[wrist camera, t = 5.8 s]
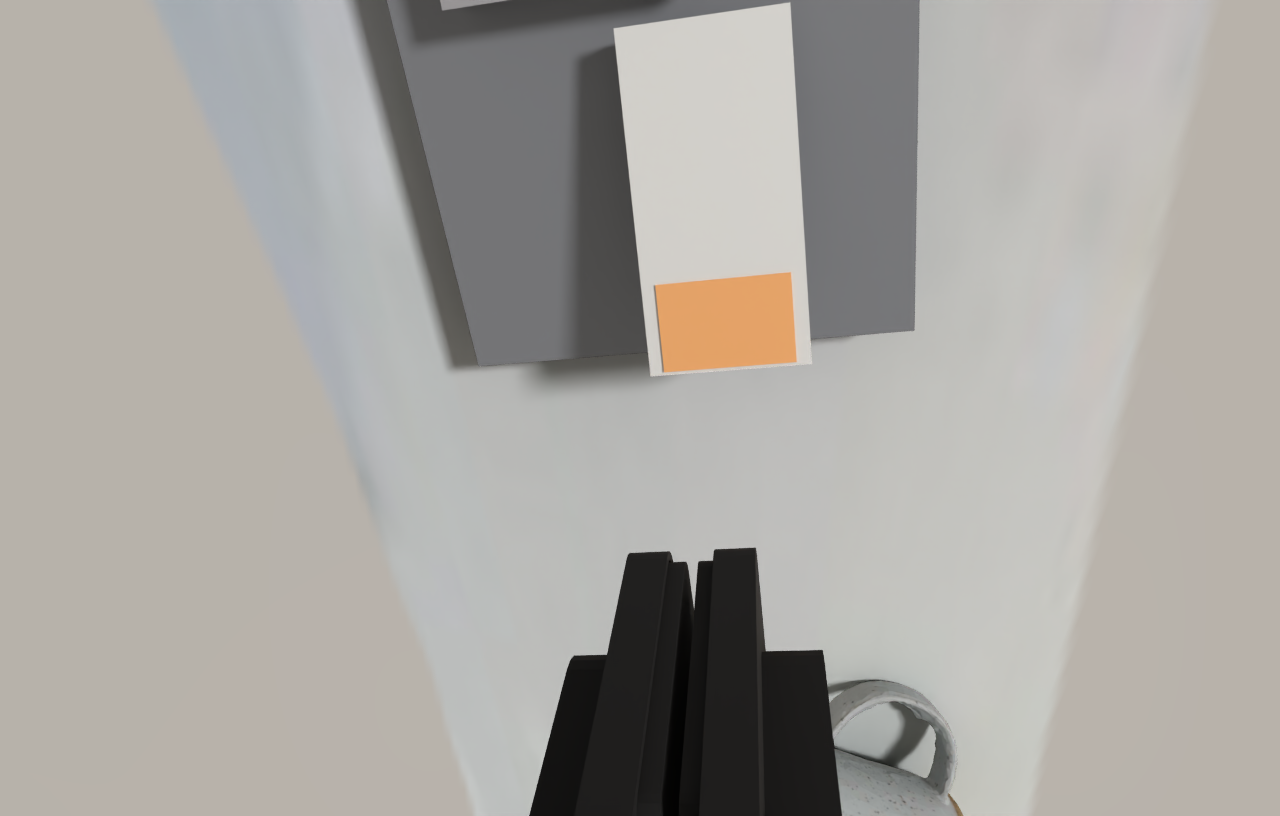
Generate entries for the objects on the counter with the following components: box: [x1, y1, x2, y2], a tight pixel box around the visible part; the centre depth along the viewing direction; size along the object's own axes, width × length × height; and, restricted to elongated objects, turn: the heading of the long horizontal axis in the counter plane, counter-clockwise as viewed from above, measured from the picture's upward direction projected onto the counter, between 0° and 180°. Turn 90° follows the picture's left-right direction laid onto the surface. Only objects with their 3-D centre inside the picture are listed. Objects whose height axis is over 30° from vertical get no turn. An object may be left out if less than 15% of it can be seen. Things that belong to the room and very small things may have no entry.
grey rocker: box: [613, 2, 812, 376], centre depth 22 cm, size 9×4×1 cm, turn 8°
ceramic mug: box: [829, 680, 963, 816], centre depth 34 cm, size 11×8×8 cm
